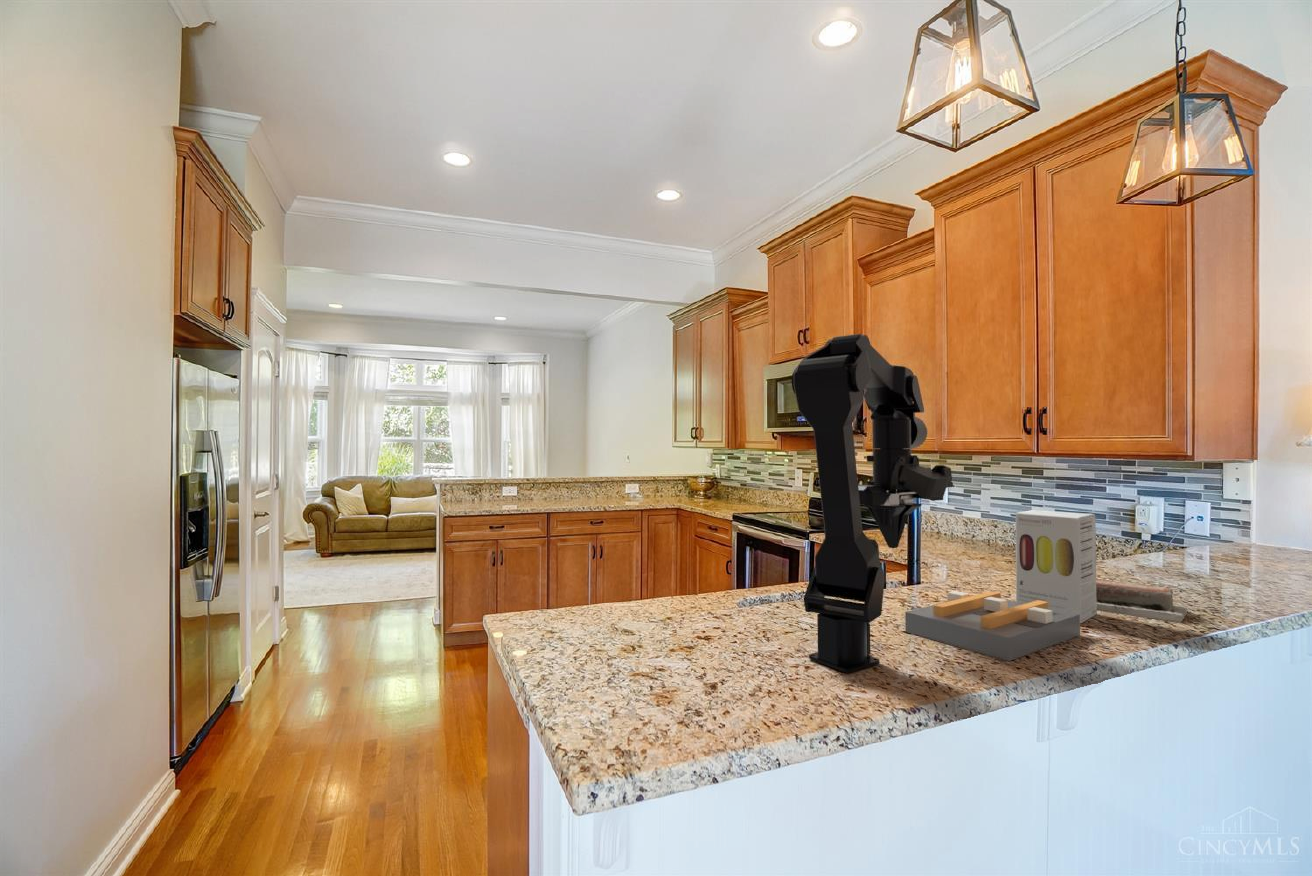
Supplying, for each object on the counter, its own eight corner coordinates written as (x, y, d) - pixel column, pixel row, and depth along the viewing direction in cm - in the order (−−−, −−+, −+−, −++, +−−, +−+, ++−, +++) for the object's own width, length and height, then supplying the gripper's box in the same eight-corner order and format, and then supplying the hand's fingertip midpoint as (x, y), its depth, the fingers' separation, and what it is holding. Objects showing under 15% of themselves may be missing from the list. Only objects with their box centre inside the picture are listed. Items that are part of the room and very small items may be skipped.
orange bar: (990, 629, 81) (990, 618, 81) (980, 626, 82) (980, 616, 82) (1048, 611, 89) (1048, 602, 89) (1038, 609, 90) (1038, 600, 90)
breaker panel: (1008, 661, 77) (1008, 625, 77) (905, 631, 89) (905, 601, 89) (1080, 635, 87) (1079, 603, 88) (978, 612, 100) (978, 584, 100)
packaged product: (1047, 578, 106) (1061, 570, 113) (1048, 605, 106) (1061, 596, 113) (1182, 594, 93) (1187, 585, 100) (1183, 626, 93) (1188, 613, 100)
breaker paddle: (1000, 612, 88) (1000, 601, 88) (984, 609, 90) (983, 598, 90) (1007, 610, 89) (1007, 600, 89) (991, 607, 91) (990, 596, 91)
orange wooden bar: (942, 617, 86) (942, 607, 87) (933, 614, 88) (933, 605, 88) (1000, 601, 95) (1000, 593, 95) (991, 600, 96) (991, 591, 96)
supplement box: (1014, 612, 100) (1012, 512, 100) (1033, 603, 106) (1031, 508, 106) (1082, 625, 92) (1079, 516, 93) (1099, 614, 98) (1096, 512, 99)
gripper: (899, 448, 82) (901, 561, 82) (974, 448, 92) (976, 549, 92) (836, 449, 92) (837, 550, 91) (910, 449, 102) (911, 540, 101)
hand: (893, 547), depth 94 cm, fingers closed
